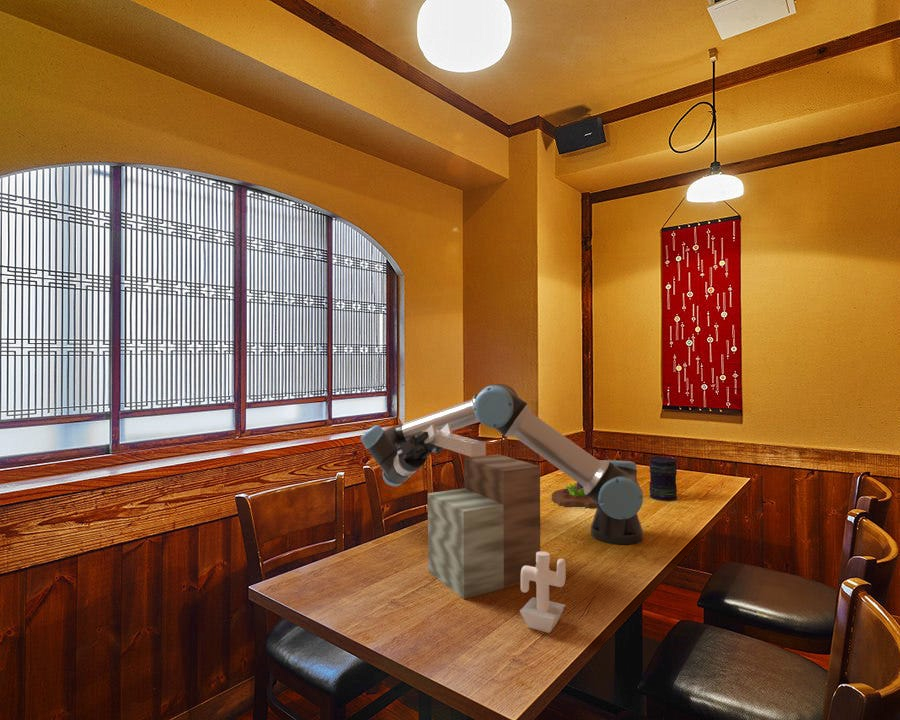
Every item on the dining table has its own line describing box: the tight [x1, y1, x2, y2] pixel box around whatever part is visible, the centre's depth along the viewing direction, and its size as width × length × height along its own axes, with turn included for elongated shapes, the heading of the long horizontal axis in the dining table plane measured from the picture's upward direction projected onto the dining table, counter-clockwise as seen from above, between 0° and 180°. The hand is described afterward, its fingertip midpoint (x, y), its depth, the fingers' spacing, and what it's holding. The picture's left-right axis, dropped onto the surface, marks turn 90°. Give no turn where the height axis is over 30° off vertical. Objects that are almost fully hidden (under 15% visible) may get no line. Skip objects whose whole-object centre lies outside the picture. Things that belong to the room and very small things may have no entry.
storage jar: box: [649, 456, 678, 502], centre depth 205 cm, size 10×10×15 cm
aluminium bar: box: [422, 429, 487, 458], centre depth 135 cm, size 26×4×3 cm, turn 29°
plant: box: [551, 482, 597, 509], centre depth 200 cm, size 20×20×11 cm
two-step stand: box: [427, 454, 541, 600], centre depth 133 cm, size 18×22×28 cm
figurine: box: [519, 550, 567, 634], centre depth 108 cm, size 7×9×15 cm
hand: (442, 428), depth 139 cm, fingers closed on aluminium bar, 4 cm apart
